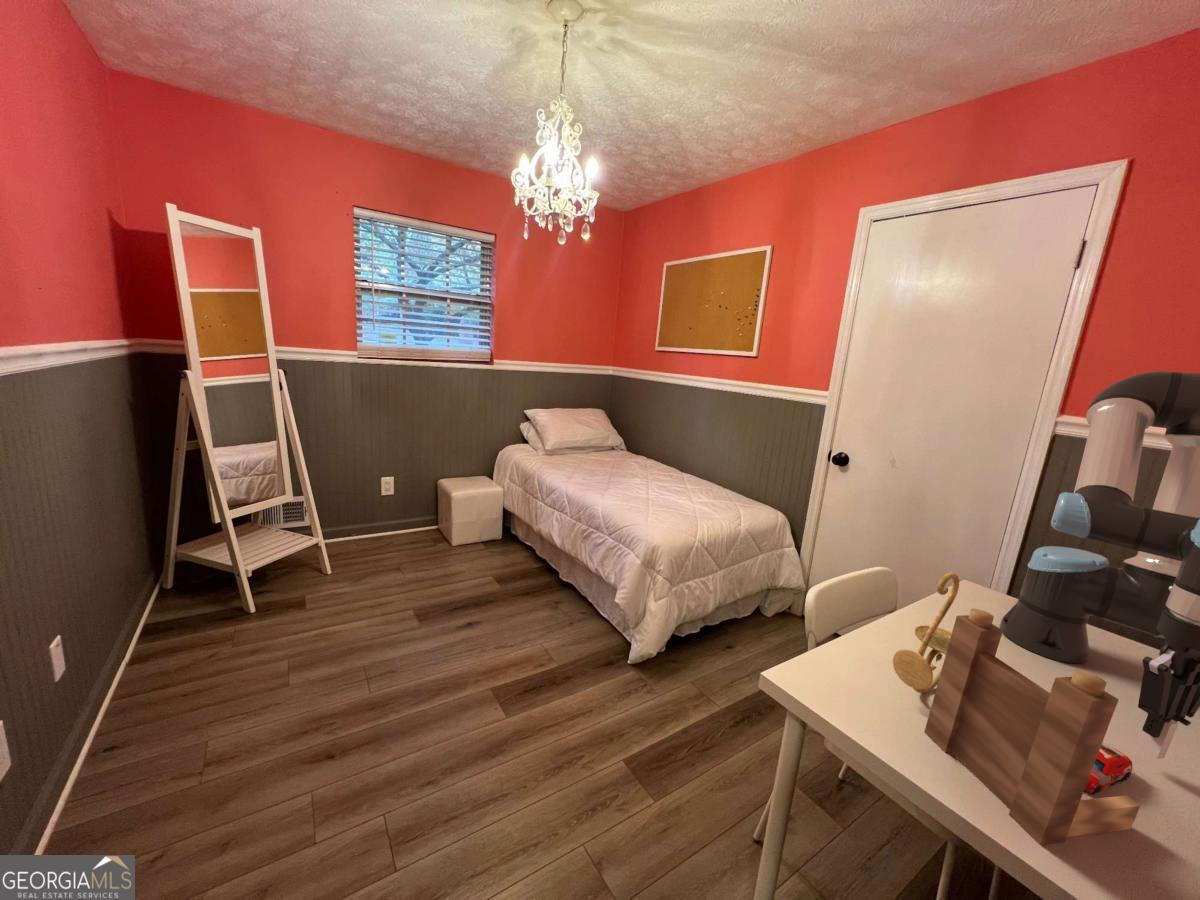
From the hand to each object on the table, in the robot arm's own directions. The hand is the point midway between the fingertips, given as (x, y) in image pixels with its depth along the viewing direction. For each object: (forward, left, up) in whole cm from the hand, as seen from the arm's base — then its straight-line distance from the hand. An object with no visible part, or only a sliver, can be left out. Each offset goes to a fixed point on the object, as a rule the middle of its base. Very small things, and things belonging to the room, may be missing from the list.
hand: (1149, 750), depth 73 cm
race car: (+11, 0, -4) cm, 12 cm away
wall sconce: (+24, -18, -3) cm, 30 cm away
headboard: (+25, 0, -3) cm, 25 cm away
